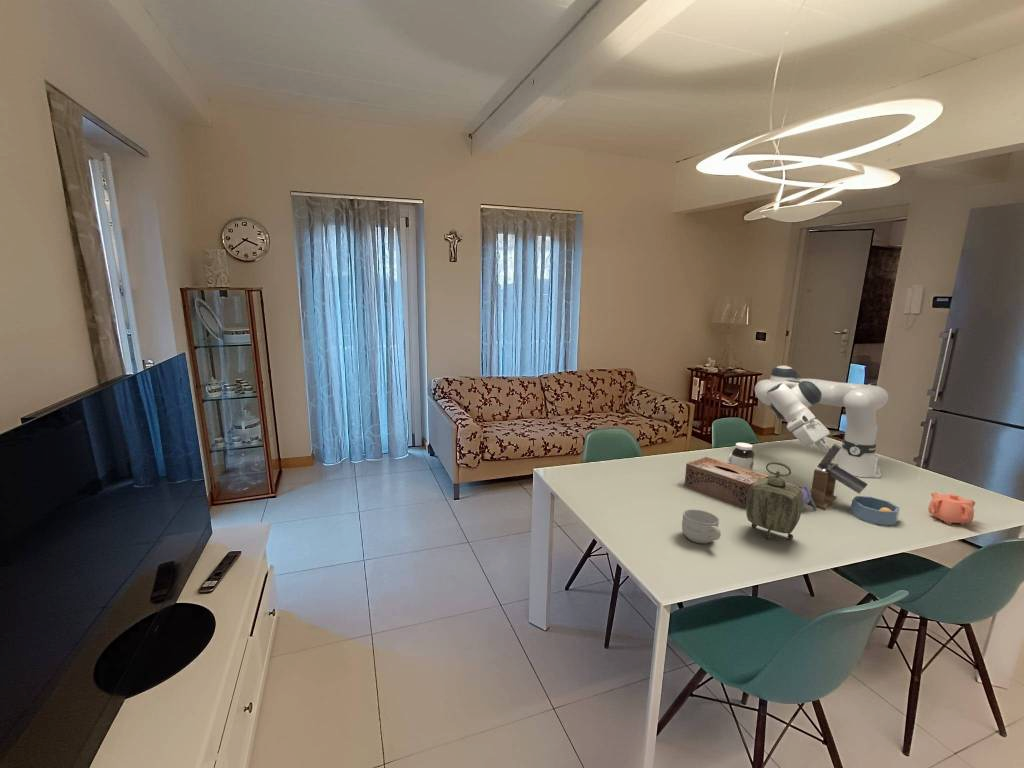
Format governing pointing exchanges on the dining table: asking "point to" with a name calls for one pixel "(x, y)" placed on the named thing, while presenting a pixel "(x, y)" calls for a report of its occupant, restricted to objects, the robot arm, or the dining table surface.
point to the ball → (884, 509)
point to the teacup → (700, 526)
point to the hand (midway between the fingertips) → (828, 450)
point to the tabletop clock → (774, 503)
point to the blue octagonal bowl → (874, 510)
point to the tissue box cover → (721, 480)
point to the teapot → (951, 508)
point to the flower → (807, 498)
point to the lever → (840, 471)
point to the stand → (823, 489)
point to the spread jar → (742, 456)
